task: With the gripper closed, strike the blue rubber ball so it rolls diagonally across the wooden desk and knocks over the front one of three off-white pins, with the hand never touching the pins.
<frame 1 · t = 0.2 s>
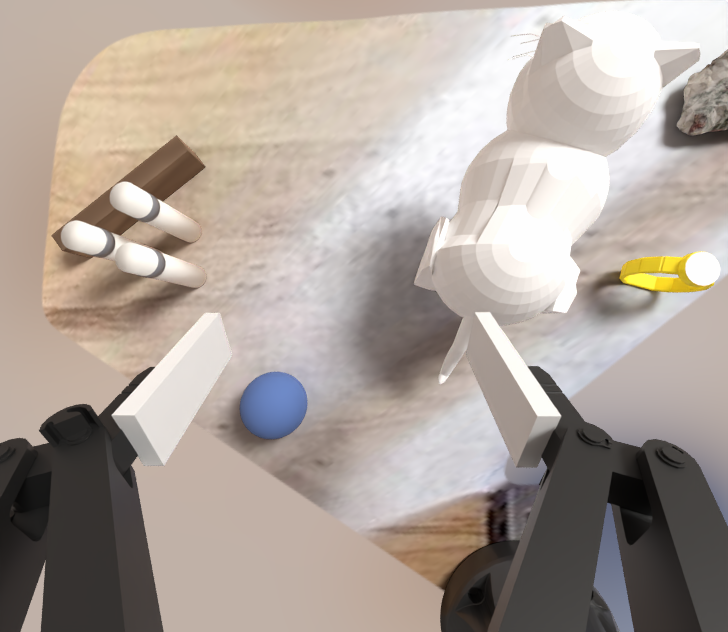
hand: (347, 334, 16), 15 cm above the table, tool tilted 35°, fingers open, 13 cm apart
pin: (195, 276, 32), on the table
pin 1: (154, 260, 32), on the table
pin 2: (190, 231, 32), on the table
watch: (637, 280, 30), on the table
ball: (274, 404, 28), on the table
back wall: (143, 205, 33), on the table
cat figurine: (472, 261, 31), on the table
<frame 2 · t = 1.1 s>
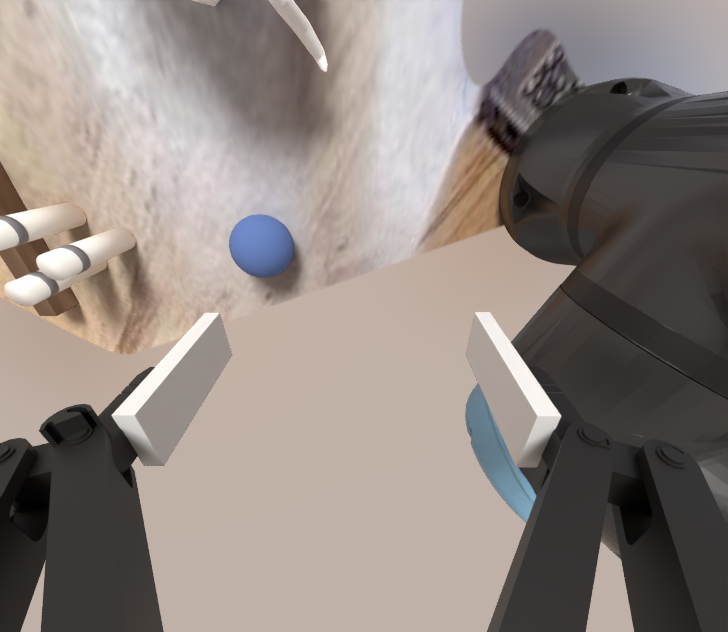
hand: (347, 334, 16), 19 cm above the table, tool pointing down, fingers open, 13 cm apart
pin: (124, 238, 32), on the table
pin 1: (95, 260, 34), on the table
pin 2: (73, 214, 31), on the table
ball: (262, 246, 30), on the table
back wall: (33, 238, 33), on the table
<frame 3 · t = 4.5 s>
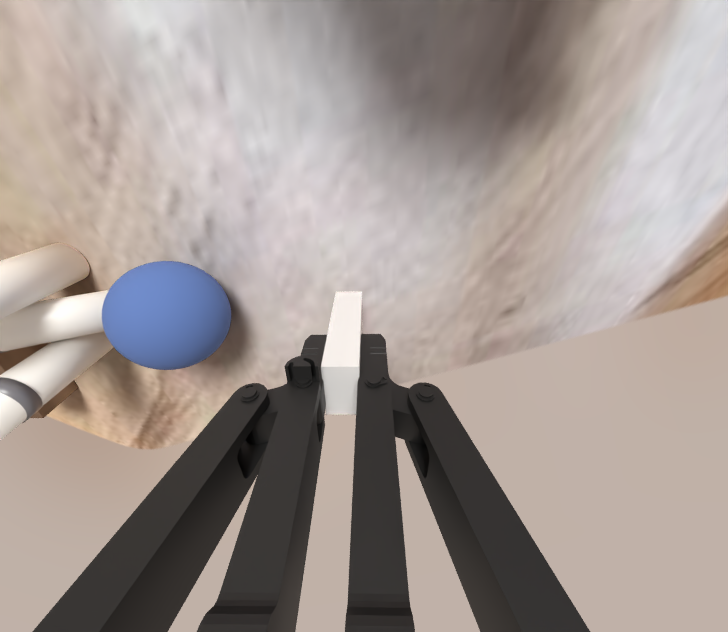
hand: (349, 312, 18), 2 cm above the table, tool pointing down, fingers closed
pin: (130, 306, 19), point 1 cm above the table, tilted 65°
pin 1: (105, 329, 21), on the table
pin 2: (68, 262, 18), on the table
ball: (172, 315, 17), on the table
back wall: (2, 298, 20), on the table
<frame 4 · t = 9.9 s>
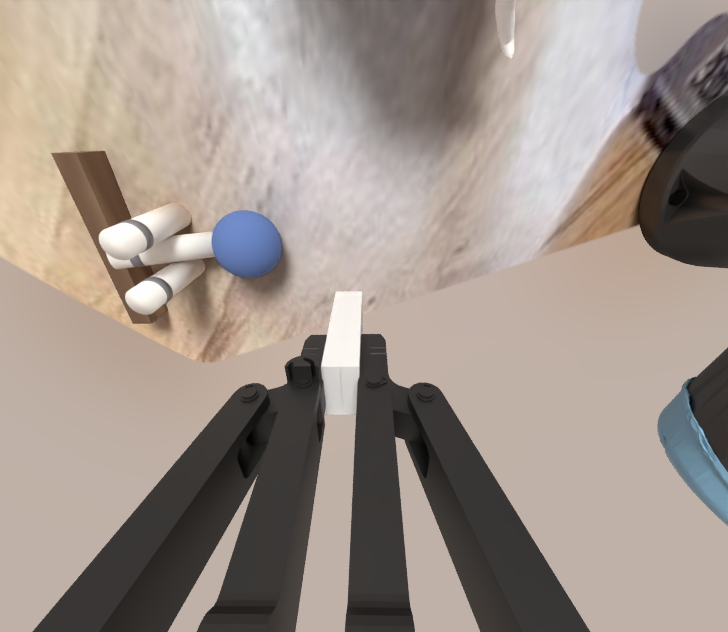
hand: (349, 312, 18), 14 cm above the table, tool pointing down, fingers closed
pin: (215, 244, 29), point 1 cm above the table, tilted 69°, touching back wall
pin 1: (193, 264, 32), on the table
pin 2: (178, 215, 29), on the table
ball: (248, 245, 28), on the table
back wall: (130, 241, 31), on the table
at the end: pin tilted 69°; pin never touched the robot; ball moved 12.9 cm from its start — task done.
